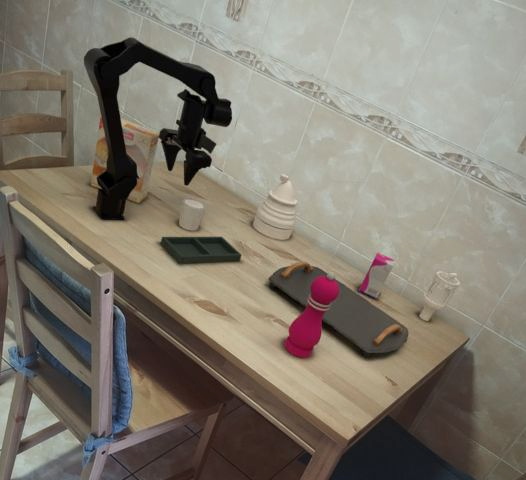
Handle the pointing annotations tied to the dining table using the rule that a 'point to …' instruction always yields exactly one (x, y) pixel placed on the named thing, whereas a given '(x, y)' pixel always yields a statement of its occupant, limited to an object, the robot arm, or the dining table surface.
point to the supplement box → (376, 275)
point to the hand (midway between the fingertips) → (177, 177)
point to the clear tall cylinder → (438, 293)
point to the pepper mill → (312, 316)
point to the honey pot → (277, 211)
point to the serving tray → (344, 310)
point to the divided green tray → (200, 249)
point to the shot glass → (191, 214)
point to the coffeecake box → (137, 147)
